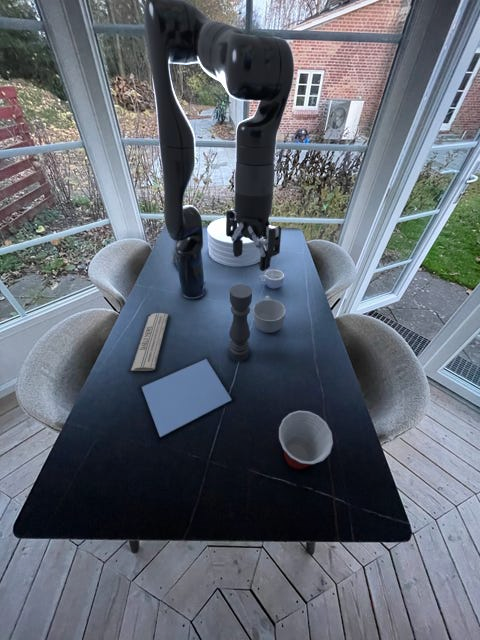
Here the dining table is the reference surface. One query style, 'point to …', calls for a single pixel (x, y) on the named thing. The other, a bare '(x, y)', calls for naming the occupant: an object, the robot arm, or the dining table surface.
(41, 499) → the dining table surface
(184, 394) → the cloth
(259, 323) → the teacup
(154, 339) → the newspaper
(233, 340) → the candle holder
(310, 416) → the plastic cup
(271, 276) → the teacup
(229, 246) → the plate stack
